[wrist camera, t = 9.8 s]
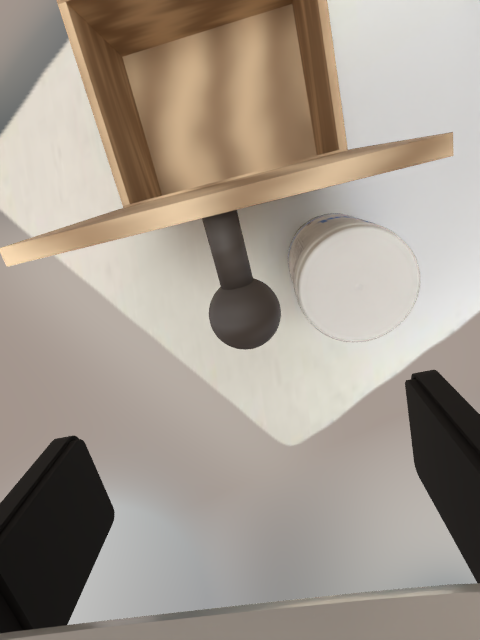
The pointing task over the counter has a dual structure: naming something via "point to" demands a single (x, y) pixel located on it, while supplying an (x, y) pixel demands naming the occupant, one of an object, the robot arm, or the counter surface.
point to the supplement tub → (352, 277)
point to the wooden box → (206, 88)
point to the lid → (235, 226)
